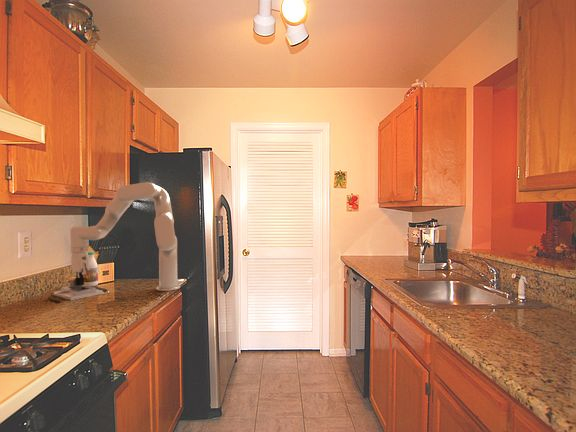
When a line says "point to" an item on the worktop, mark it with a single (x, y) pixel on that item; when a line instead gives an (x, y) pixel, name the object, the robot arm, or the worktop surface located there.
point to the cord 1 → (55, 299)
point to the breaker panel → (77, 292)
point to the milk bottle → (91, 271)
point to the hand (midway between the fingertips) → (79, 284)
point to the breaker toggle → (74, 284)
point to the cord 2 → (100, 289)
